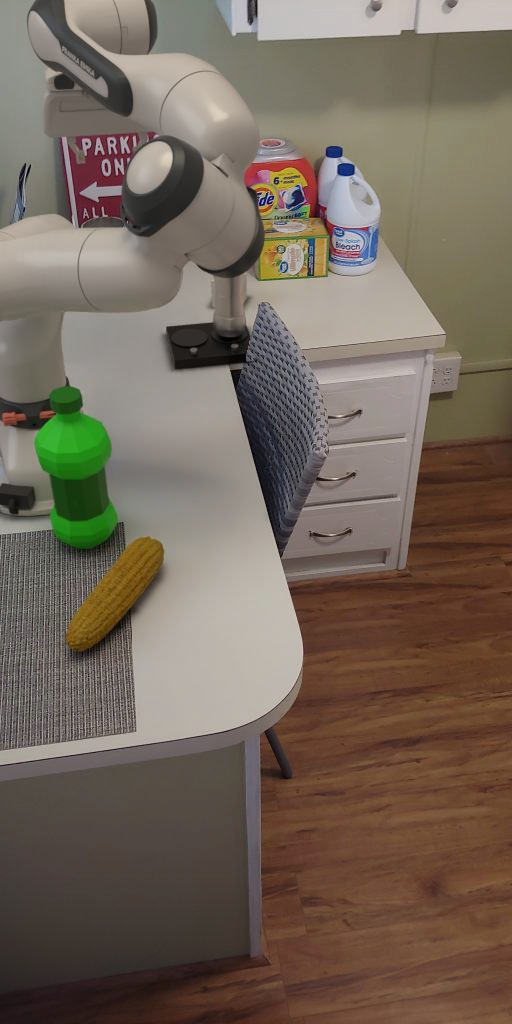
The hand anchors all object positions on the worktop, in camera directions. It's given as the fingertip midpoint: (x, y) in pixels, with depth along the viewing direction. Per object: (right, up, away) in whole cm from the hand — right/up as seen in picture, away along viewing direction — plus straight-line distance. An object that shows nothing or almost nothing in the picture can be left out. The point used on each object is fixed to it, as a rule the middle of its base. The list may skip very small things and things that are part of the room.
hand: (109, 160), depth 155 cm
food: (+6, -72, -27) cm, 77 cm away
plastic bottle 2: (+19, -23, +30) cm, 42 cm away
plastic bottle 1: (-1, -63, -16) cm, 64 cm away
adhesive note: (+19, -14, +45) cm, 51 cm away
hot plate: (+15, -26, +30) cm, 42 cm away
